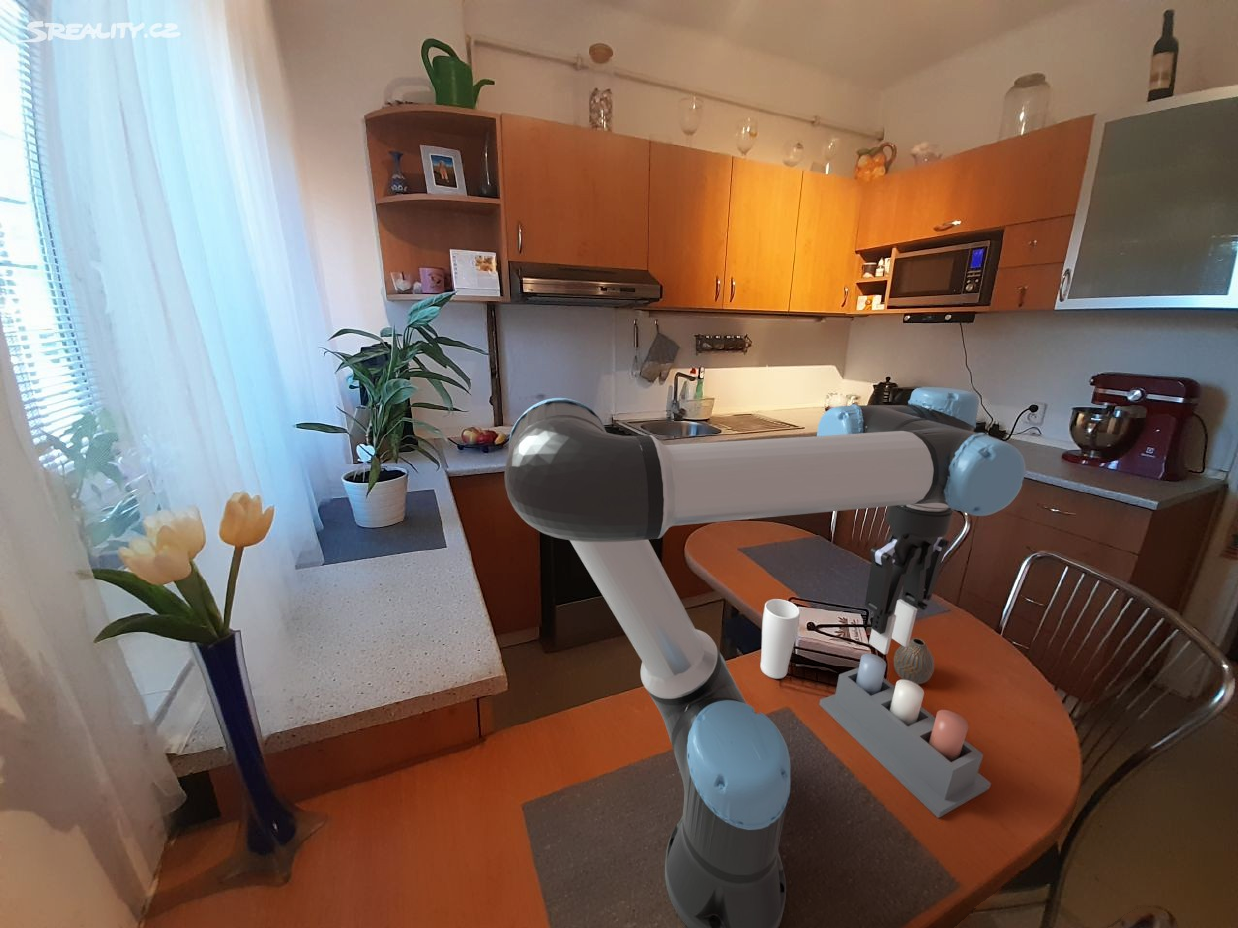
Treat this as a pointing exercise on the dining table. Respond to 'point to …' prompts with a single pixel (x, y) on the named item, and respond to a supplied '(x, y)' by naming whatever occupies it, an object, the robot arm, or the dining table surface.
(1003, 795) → the dining table surface
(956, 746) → the pink rounded cylinder
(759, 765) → the robot arm
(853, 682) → the grey slotted holder
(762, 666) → the drinking glass
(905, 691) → the white rounded cylinder
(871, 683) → the light blue rounded cylinder
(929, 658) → the vase
